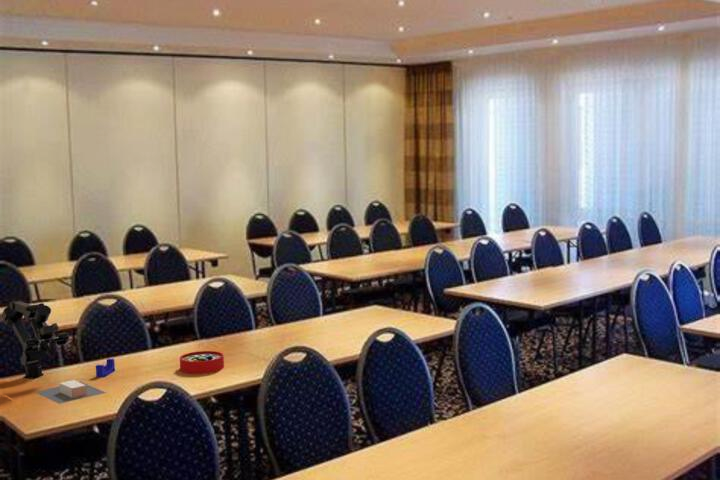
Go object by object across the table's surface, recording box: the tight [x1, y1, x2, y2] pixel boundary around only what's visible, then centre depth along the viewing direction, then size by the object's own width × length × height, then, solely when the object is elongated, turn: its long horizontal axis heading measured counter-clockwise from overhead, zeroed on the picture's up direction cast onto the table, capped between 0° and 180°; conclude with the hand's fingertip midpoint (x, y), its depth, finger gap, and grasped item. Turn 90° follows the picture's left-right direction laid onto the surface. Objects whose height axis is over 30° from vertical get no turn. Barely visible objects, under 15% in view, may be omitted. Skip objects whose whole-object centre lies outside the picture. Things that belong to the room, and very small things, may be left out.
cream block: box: [59, 379, 88, 398], centre depth 339 cm, size 4×6×12 cm
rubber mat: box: [35, 381, 107, 405], centre depth 341 cm, size 24×20×1 cm
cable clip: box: [95, 358, 116, 379], centre depth 370 cm, size 12×4×6 cm, turn 171°
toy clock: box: [179, 350, 225, 375], centre depth 377 cm, size 20×6×20 cm
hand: (52, 357), depth 352 cm, fingers closed
